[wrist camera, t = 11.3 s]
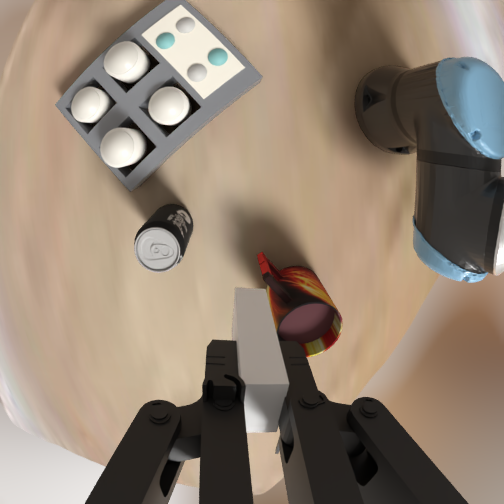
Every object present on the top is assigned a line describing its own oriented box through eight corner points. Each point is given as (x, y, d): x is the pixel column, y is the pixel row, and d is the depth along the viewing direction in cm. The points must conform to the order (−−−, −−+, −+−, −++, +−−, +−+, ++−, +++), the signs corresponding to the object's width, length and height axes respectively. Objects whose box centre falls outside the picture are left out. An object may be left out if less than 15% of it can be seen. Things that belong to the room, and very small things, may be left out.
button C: (136, 44, 33) (125, 33, 28) (157, 65, 35) (148, 56, 30) (110, 68, 34) (95, 61, 29) (130, 90, 36) (117, 84, 31)
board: (180, 4, 33) (175, -9, 29) (259, 82, 40) (263, 76, 35) (68, 106, 38) (53, 104, 33) (138, 186, 44) (129, 192, 39)
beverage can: (155, 200, 45) (132, 220, 33) (196, 206, 46) (186, 228, 34) (151, 240, 47) (129, 271, 36) (191, 246, 48) (180, 279, 37)
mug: (258, 247, 49) (267, 281, 38) (330, 277, 52) (354, 313, 41) (234, 297, 52) (236, 339, 40) (304, 321, 55) (320, 363, 43)
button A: (176, 85, 38) (170, 78, 33) (198, 109, 40) (195, 105, 35) (150, 109, 39) (140, 105, 34) (172, 133, 41) (164, 132, 36)
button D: (102, 84, 37) (88, 79, 32) (121, 105, 38) (108, 102, 33) (80, 109, 37) (64, 106, 33) (98, 130, 39) (83, 129, 34)
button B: (131, 121, 37) (119, 119, 32) (154, 146, 39) (144, 147, 34) (107, 147, 38) (92, 148, 33) (129, 171, 40) (116, 176, 35)
